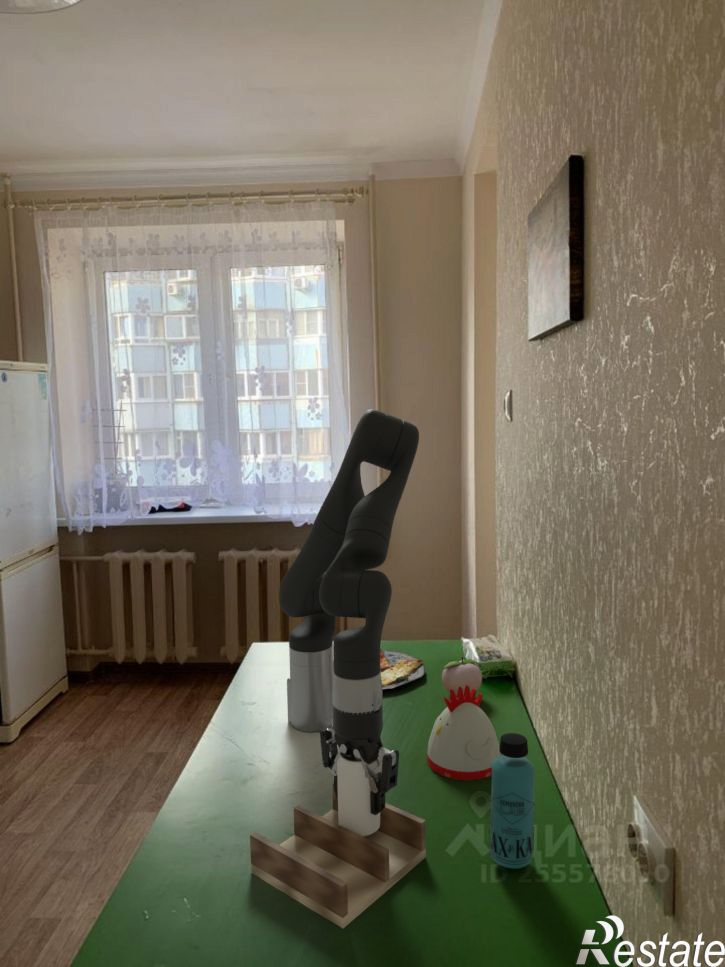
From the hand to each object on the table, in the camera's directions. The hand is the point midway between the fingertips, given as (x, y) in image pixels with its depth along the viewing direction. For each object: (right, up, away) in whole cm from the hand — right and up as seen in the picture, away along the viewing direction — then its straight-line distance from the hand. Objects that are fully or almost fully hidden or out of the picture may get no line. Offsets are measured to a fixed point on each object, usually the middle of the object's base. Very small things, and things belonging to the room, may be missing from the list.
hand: (359, 803), depth 111 cm
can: (0, -4, +1) cm, 4 cm away
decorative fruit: (+24, -1, +56) cm, 60 cm away
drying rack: (-3, -8, -3) cm, 9 cm away
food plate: (+4, +1, +71) cm, 71 cm away
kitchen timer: (+20, -4, +28) cm, 34 cm away
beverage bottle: (+23, -8, -3) cm, 24 cm away
